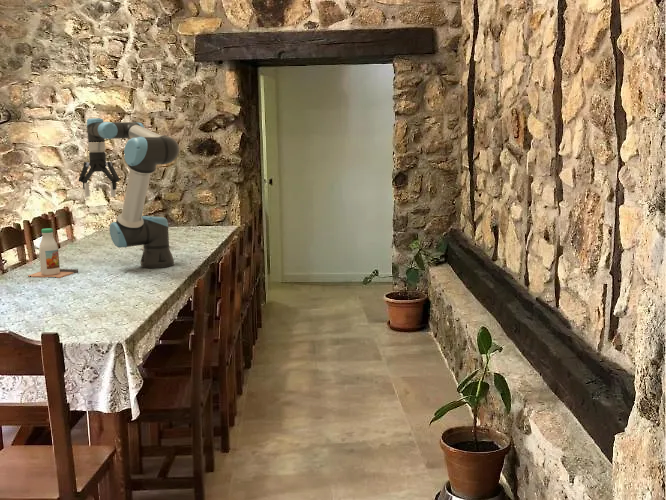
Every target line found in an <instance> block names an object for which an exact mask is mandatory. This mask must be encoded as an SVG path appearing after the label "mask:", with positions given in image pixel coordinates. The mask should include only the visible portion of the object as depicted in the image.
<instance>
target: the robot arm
mask: <svg viewBox="0 0 666 500" xmlns="http://www.w3.org/2000/svg"><path fill="white" fill-rule="evenodd" d="M86 130H87V144H88V151H89V153H88V156H89V157H88V158H89V159H88V160H89V161H84V162H83V164H82V165H83V167H82V170H81V172H80V175H79V178H78V182H79V183H80V182H81V183H82V190H84V197H85V198H87V197H91V195H90V182H88V181H89V180H90V178H91V177H92V176H93V174H94V173H95V172H96V173H97V172H102V173H103V174H104V175H105V176H106V177H107V179H108V180H109V181H110V183H109V186H110V196H111V198H113V197H116V190H117V183H118V182H120V181H121V179H120V177H119V175H118V174H117V171H116V169H115V168H114V165H113V161H107V154H106V152H105V151H106V140H111V139H112V140H113V139H115V140H117V139H121V140H122V139H125V140H126V139H128V140H127V142H126V143H125V146H124V149H123V155H124V156H123V158H124V161H125V163H126V165H127V167H128V169H129V174H128V180H127V183H126V184H127V185H126V189H125V195H124V199H123V205H122V209H121V213H120V214H118V215H117V218H116V221H113V222H111V223H110V225H109V234H110V235H109V237H110V239H111V241H112V243H113V244H114V246H116V247H117V248H119V249H121V248H130V247H138V246H143V247H144V250H142V256H141V259H140V267H141V268H144V269H163V268H167V267H172V266H174V265H175V259H174V257H173V254H172V251H171V250H170V237H169V227H170V226H169V223H168V219H167V218H166V217H162V216H155V215H154V216H153V215H143V211H144V207H145V202H146V198H147V193H148V188H149V183H150V179H151V174H154V173H155V171H156V169H157V165H160V166H161V165H168V164H170V163H173V162H174V161H175V160H176V159H177V158H178V157H179V153H180V146H179V143H178V142H177V140H176V139H175V138H173V137H171V136H169V135H164V134H163V135H161V134H158V133H157V132H154V131H152V130H149V129H148V128H145V126H144V124H143V123H142V122H137V121H133V122H131V121H127V122H123V121H122V122H121V121H111V122H110V121H104V119H103V118H98V117H97V118H95V117H94V118H93V117H92V118H87V119H86ZM107 167H108V168H107Z"/></svg>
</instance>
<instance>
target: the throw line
mask: <svg viewBox="0 0 666 500" xmlns="http://www.w3.org/2000/svg"><path fill="white" fill-rule="evenodd" d="M60 272H74V273H73V274H79V269H78V268H60Z"/></svg>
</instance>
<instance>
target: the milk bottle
mask: <svg viewBox="0 0 666 500" xmlns="http://www.w3.org/2000/svg"><path fill="white" fill-rule="evenodd" d="M53 234H54V229H53V228H50V227H49V228H42V229H41V235H42V236H41V240H40V243H39V250H38V251H39V252H38V253H39V263H40V271H41V274H42V275H54V274H59V273H60V269H61V267H60V256H59V255H60V253H59V247H58V243H57V241H56V240H55V239H54V235H53Z"/></svg>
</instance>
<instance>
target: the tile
mask: <svg viewBox="0 0 666 500" xmlns="http://www.w3.org/2000/svg"><path fill="white" fill-rule="evenodd" d="M74 274H75V273H74V272H60V273H59V274H54V275H42V274H41V270H40V271H38V272H34V273H31V274H28V275H27V276H29V277H28V278H45V277H56V278H55V279H61V277H62V278H64V276H65V277H67V275H68V276H71V275H74ZM30 276H31V277H30Z"/></svg>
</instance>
